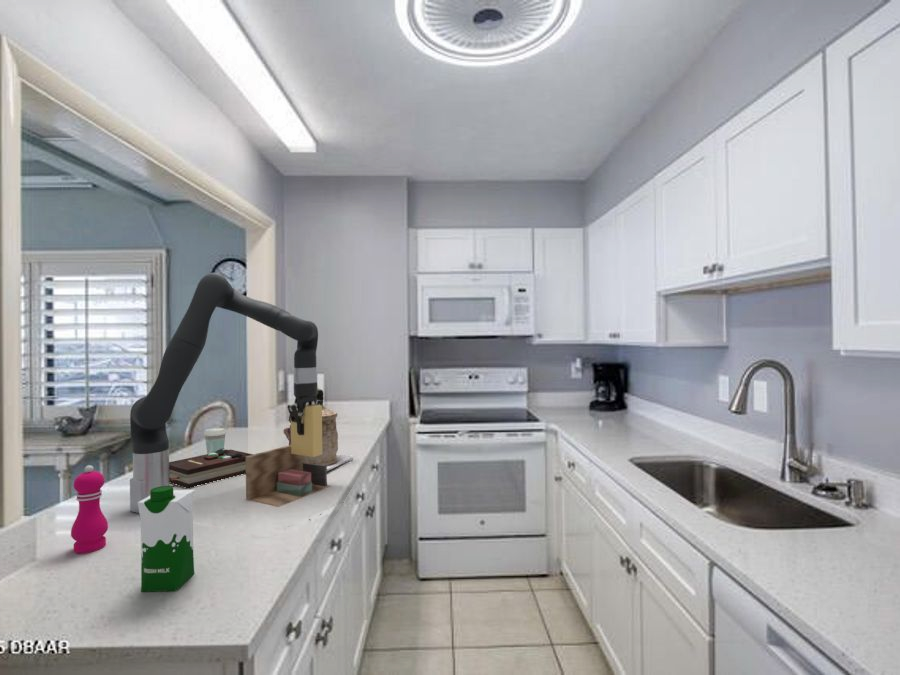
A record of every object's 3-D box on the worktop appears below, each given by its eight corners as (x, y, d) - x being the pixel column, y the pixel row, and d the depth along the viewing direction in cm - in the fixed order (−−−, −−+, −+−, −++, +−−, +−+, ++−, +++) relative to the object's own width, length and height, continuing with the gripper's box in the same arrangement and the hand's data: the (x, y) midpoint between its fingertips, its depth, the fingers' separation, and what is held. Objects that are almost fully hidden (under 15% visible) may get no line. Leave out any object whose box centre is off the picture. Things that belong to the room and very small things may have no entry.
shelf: (278, 511, 139) (277, 461, 139) (246, 504, 146) (245, 456, 146) (331, 490, 158) (331, 446, 158) (300, 484, 165) (300, 442, 165)
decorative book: (155, 461, 171) (234, 445, 195) (155, 483, 171) (234, 464, 195) (181, 469, 160) (262, 451, 184) (182, 492, 160) (262, 471, 184)
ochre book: (313, 457, 154) (312, 406, 154) (291, 453, 158) (290, 405, 158) (322, 454, 157) (321, 405, 157) (300, 451, 162) (299, 403, 162)
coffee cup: (204, 456, 208) (204, 428, 208) (226, 454, 212) (226, 426, 212) (203, 460, 200) (203, 432, 200) (226, 458, 204) (226, 430, 204)
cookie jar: (355, 459, 200) (354, 382, 200) (324, 475, 176) (323, 388, 176) (303, 456, 206) (302, 381, 206) (266, 471, 183) (265, 387, 183)
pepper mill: (103, 539, 121) (102, 460, 122) (112, 546, 117) (111, 464, 117) (67, 549, 116) (66, 466, 116) (75, 557, 111) (74, 471, 111)
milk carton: (133, 594, 94) (132, 493, 94) (159, 572, 103) (158, 479, 103) (179, 593, 95) (177, 491, 95) (201, 571, 104) (200, 478, 104)
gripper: (312, 379, 166) (313, 428, 166) (280, 382, 153) (281, 436, 153) (329, 379, 162) (330, 430, 162) (297, 383, 150) (298, 438, 150)
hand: (306, 433), depth 158 cm, fingers closed on ochre book, 4 cm apart
